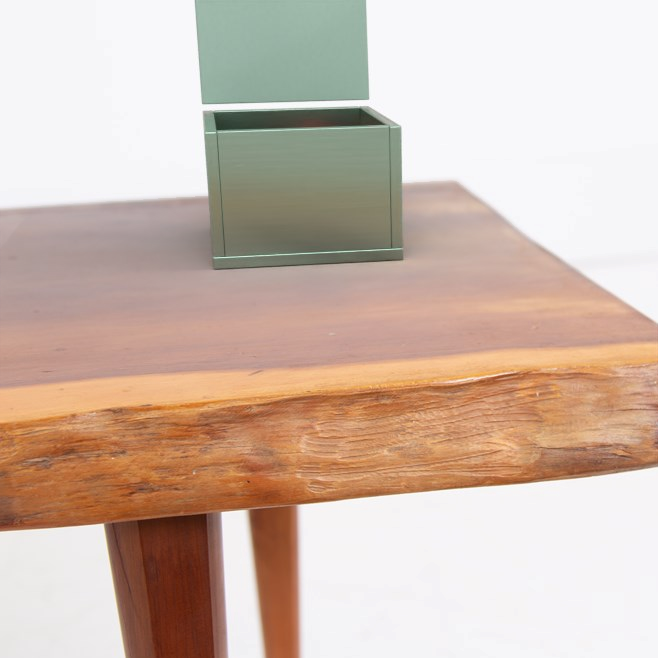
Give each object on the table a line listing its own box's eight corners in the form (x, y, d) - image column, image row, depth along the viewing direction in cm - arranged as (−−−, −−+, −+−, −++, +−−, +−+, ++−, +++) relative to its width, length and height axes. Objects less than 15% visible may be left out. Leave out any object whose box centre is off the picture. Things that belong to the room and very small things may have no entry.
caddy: (403, 259, 75) (401, 125, 72) (213, 269, 73) (204, 131, 70) (371, 220, 89) (368, 105, 86) (210, 227, 87) (202, 110, 84)
